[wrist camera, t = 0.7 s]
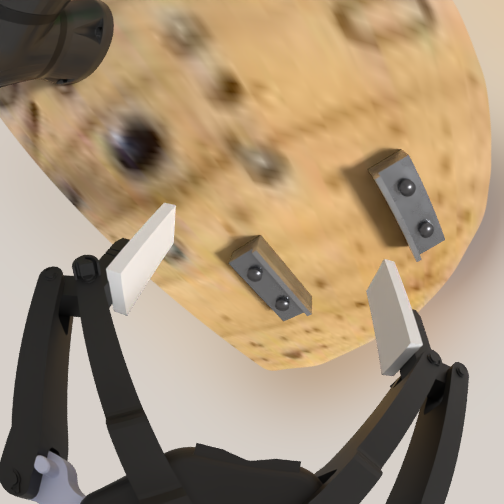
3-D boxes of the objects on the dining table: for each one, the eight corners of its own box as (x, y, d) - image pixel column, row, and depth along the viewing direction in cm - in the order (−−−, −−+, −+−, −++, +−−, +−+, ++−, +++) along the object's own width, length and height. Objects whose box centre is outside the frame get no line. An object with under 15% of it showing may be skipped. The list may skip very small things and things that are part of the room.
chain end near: (367, 169, 34) (374, 179, 31) (401, 149, 32) (411, 157, 28) (408, 246, 39) (416, 262, 35) (437, 229, 36) (448, 244, 33)
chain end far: (232, 252, 45) (226, 268, 41) (260, 234, 42) (256, 250, 39) (285, 308, 49) (282, 326, 46) (311, 296, 47) (311, 314, 43)
